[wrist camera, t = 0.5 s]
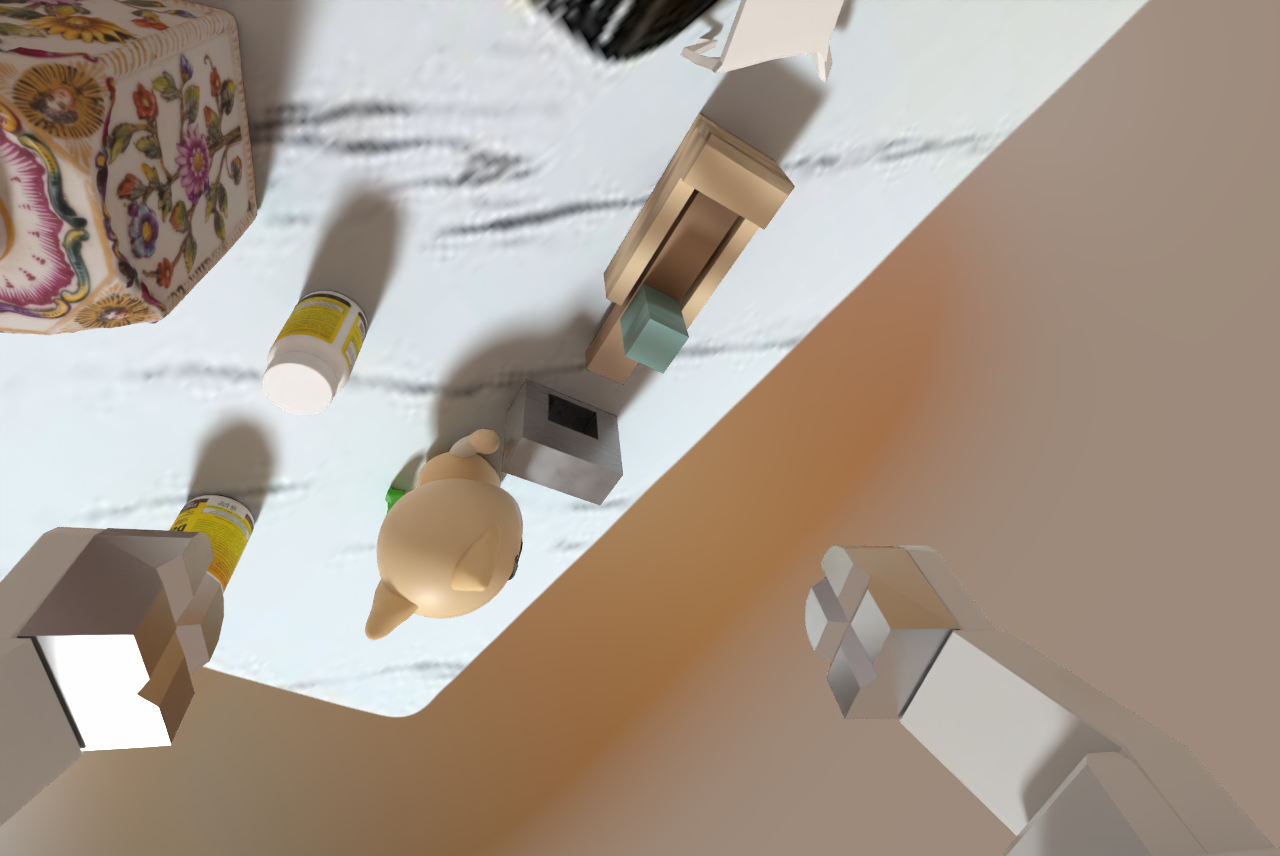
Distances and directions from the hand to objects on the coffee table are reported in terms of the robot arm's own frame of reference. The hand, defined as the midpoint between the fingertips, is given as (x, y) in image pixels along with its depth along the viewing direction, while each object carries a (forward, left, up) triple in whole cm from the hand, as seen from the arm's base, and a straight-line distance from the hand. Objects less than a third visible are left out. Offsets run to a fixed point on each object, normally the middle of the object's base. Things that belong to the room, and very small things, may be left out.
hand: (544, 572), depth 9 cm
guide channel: (+5, +12, -37) cm, 39 cm away
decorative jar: (+14, -19, -38) cm, 44 cm away
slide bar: (+8, +12, -36) cm, 39 cm away
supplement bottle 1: (+46, -9, -38) cm, 60 cm away
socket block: (+23, +12, -37) cm, 45 cm away
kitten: (+33, +7, -38) cm, 50 cm away
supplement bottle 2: (+23, -6, -38) cm, 44 cm away
